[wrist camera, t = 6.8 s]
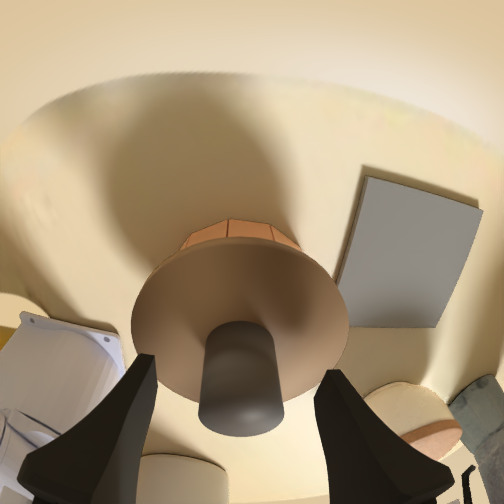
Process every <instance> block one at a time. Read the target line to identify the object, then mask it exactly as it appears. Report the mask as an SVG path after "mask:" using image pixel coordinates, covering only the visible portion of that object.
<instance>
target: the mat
mask: <svg viewBox="0 0 504 504" xmlns="http://www.w3.org/2000/svg"><path fill="white" fill-rule="evenodd" d="M482 214H483V210H481V209H479V208H476V207H473V206H470V205H467V204H464V203H461V202H458V201H455V200H452V199H449V198H446V197H443V196H440V195H436V194H433V193H430V192H426V191H423V190H419V189H416V188H412V187H409V186H405V185H402V184H398V183H394V182H390V181H386V180H382V179H378V178H374V177H370V176H366V175H365V180H364V184H363V188H362V192H361V196H360V200H359V204H358V208H357V212H356V216H355V220H354V223H353V227H352V231H351V234H350V238H349V241H348V245H347V248H346V252H345V255H344V258H343V262H342V265H341V268H340V272H339V275H338V278H337V281H336V286H337V288H338V290H339V292H340V294H341V296H342V297H343V299H344V302H345V305H346V308H347V311H348V318H349V327H380V328H435V327H436V325H437V323H438V321H439V319H440V317H441V315H442V313H443V311H444V309H445V307H446V305H447V303H448V301H449V299H450V297H451V295H452V293H453V290H454V288H455V286H456V284H457V281H458V279H459V277H460V274H461V272H462V270H463V267H464V265H465V262H466V260H467V257H468V255H469V252H470V249H471V247H472V244H473V241H474V238H475V235H476V233H477V230H478V227H479V224H480V220H481V217H482Z"/></svg>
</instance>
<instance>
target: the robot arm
mask: <svg viewBox="0 0 504 504" xmlns="http://www.w3.org/2000/svg"><path fill="white" fill-rule="evenodd" d="M20 319H21V322H22V323H21V324H20V326H19V327H18V328H17V330H16V331H15V332H14V334H13V335H12V336H11V337H10V339H9V340H8V342H7V343H6V344H5V346H4V347H3V348H2V350H1V351H0V504H136V494H137V483H138V474H139V467H140V460H141V454H142V450H143V446H144V442H145V438H146V435H147V431H148V428H149V424H150V421H151V417H152V414H153V410H154V406H155V400H156V394H157V388H158V383H157V374H156V363H155V355H149V354H144V353H140V354H138V356H137V357H136V359H135V360H134V362H133V363H132V365H131V366H130V367H129V369H128V370H127V371H126V368H125V363H124V358H123V352H122V346H121V340H120V337H119V336H118V335H117V334H116V333H113V332H108V331H103V330H98V329H93V328H89V327H84V326H80V325H75V324H71V323H67V322H63V321H59V320H55V319H51V318H47V317H43V316H40V315H36V314H32V313H29V312H25V311H22V312H21V313H20ZM106 337H108V338H109V339H108V338H106ZM314 408H315V417H316V422H317V426H318V430H319V434H320V438H321V442H322V446H323V451H324V455H325V459H326V464H327V472H328V481H329V495H330V504H437V501H436V497H437V496H439V495H440V494H442V493H443V492H445V491H446V490H448V489H449V488H450V487H452V486H453V485H454V483H455V480H454V478H453V475H452V473H451V470H450V468H449V467H448V466H446V465H444V464H441V463H439V462H437V461H435V460H433V459H431V458H430V457H428V456H426V455H425V454H423V453H421V452H420V451H418V450H417V449H415V448H414V447H412V446H411V445H410V444H408V443H407V442H406V441H404V440H403V439H402V438H400V437H399V436H398V435H397V434H396V433H395V432H393V431H392V430H391V429H390V428H389V427H388V426H387V425H386V424H385V423H384V422H383V421H382V420H381V419H380V418H379V417H378V416H377V415H376V414H375V413H374V412H373V410H372V409H371V408H370V407H369V406H368V405H367V403H366V402H365V401H364V400H363V399H362V397H361V396H360V395H359V394H358V392H357V391H356V390H355V388H354V387H353V386H352V385H351V383H350V382H349V381H348V379H347V378H346V377H345V375H344V374H343V373H342V372H341V370H340V369H327V371H326V373H325V375H324V377H323V379H322V381H321V383H320V386H319V388H318V390H317V392H316V394H315V396H314ZM448 504H460V502H459V499H457V500H454V501H452V502H450V503H448Z"/></svg>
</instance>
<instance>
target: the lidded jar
mask: <svg viewBox="0 0 504 504" xmlns="http://www.w3.org/2000/svg"><path fill="white" fill-rule="evenodd" d="M363 400H364V401H365V402H366V403H367V405H368V406H369V407H370V408H371V409H372V410H373V412H374V413H375V414H376V415H377V416H378V417H379V418H380V419H381V420H382V421H383V422H384V423H385V424H386V425H387V426H388V427H389V428H390V429H391V430H392V431H393V432H395V433H396V434H397V435H398V436H399V437H400V438H402V439H403V440H404V441H406V442H407V443H408V444H410V445H411V446H412V447H414V448H415V449H417V450H418V451H420V452H421V453H423V454H425V455H426V456H428V457H430V458H431V459H433V460H435V461H437V460H439V459H440V458H441V457H443V456H444V455H445V454H446V453H447V452H449V451H450V450H451V449H452V448H453V447H454V446H455V445H456V443H457V442H458V441H459V439H460V438H461V435H462V428H461V426H460V424H459V423H458V421H456V420H455V418H454V416H453V414H452V412H451V411H450V409H449V408H448V406H447V405H446V403H445V402H444V401H443V400H442V399H441V398H440V397H439V396H438V395H437V394H436V393H435V392H433V391H432V390H430V389H428V388H426V387H423V386H420V385H415V384H409V383H407V382H394V383H390V384H387V385H384V386H382V387H380V388H378V389H376V390H374V391H373V392H371V393H370V394H368V395H367V396H366V397H365V398H364V399H363Z"/></svg>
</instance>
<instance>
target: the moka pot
mask: <svg viewBox="0 0 504 504" xmlns="http://www.w3.org/2000/svg"><path fill="white" fill-rule="evenodd" d="M448 408H449V409H450V411H451V412H452V414H453V416H454V418H455V420H456V421H458V423H459V424H460V426H461V428H462V435H461V438H460V440H461V441H462V443H463V444H464V445H465V446H466V447H467V449H468V450H469V451H470V452H471V453H472V454H474V457H475V459H476V461H477V463H478V465H479V467H478V469H479V472H480V474H481V477H482V480H483V483H484V486H485V489H486V492H487V495H488V498H489V502H490V504H504V392H503V390H502V389H501V387H500V385H499V383H498V382H497V380H496V379H495V377H494V376H493V375H486V376H483V377H481V378H480V379H478V380H476V381H475V382H473V383H472V384H471V385H469V386H468V387H467V388H466V389H465V390H464V391H463V392H461V393H460V394H459V395H458V396H457V398H456V399H455V400H454V401H453V402H452V403H451V405H450V406H449V407H448ZM475 468H476V467H475V466H473V465H471V466H470V467H469V468H468V469H467V470H466V471H465V472H464V473H463V474H462V475H461V476H462V487H463V497H464V504H472V498H471V491H470V487H469V475H470V473H471V472H472V471H474V470H475Z"/></svg>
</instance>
